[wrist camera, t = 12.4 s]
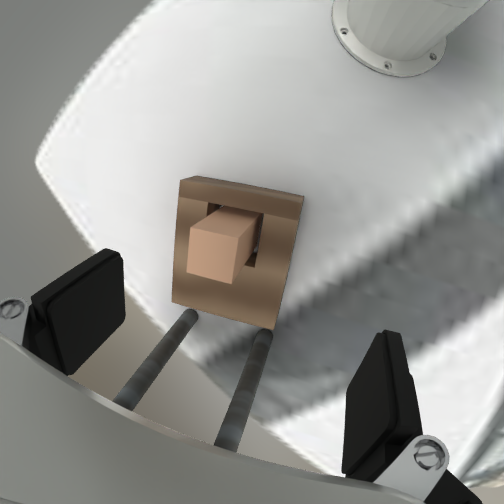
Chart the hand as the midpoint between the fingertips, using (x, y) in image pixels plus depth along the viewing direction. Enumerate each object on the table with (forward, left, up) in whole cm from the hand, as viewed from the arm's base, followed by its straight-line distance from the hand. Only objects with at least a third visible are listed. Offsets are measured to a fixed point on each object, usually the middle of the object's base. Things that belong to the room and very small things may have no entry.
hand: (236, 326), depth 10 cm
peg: (+4, -5, -23) cm, 24 cm away
